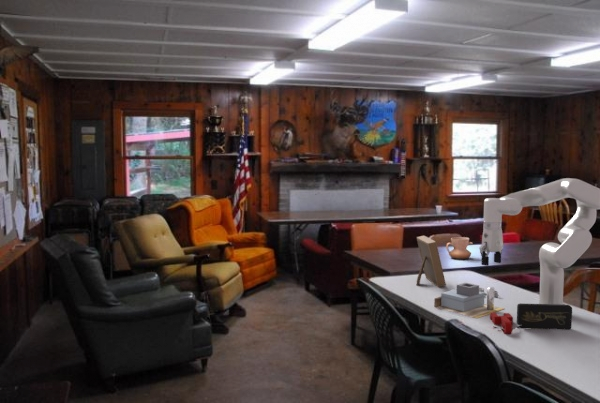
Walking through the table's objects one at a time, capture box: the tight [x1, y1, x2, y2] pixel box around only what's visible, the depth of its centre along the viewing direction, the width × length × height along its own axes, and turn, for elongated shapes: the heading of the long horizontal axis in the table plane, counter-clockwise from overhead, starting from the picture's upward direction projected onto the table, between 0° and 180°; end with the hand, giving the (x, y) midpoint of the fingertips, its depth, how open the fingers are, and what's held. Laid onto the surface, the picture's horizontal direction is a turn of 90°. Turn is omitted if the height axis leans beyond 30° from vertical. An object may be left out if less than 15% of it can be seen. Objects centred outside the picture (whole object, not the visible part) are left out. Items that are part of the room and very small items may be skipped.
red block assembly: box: [489, 312, 514, 335], centre depth 214 cm, size 16×7×5 cm, turn 173°
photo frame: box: [416, 235, 447, 288], centre depth 292 cm, size 15×22×25 cm
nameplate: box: [516, 302, 573, 331], centre depth 214 cm, size 21×2×10 cm, turn 84°
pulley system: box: [479, 287, 499, 299], centre depth 263 cm, size 27×5×15 cm
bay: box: [433, 296, 505, 321], centre depth 238 cm, size 22×22×6 cm
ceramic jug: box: [445, 236, 473, 260], centre depth 363 cm, size 18×14×14 cm
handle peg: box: [486, 286, 495, 311], centre depth 235 cm, size 3×3×10 cm
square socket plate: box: [440, 282, 486, 312], centre depth 240 cm, size 12×16×10 cm
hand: (491, 263), depth 234 cm, fingers open, 9 cm apart
